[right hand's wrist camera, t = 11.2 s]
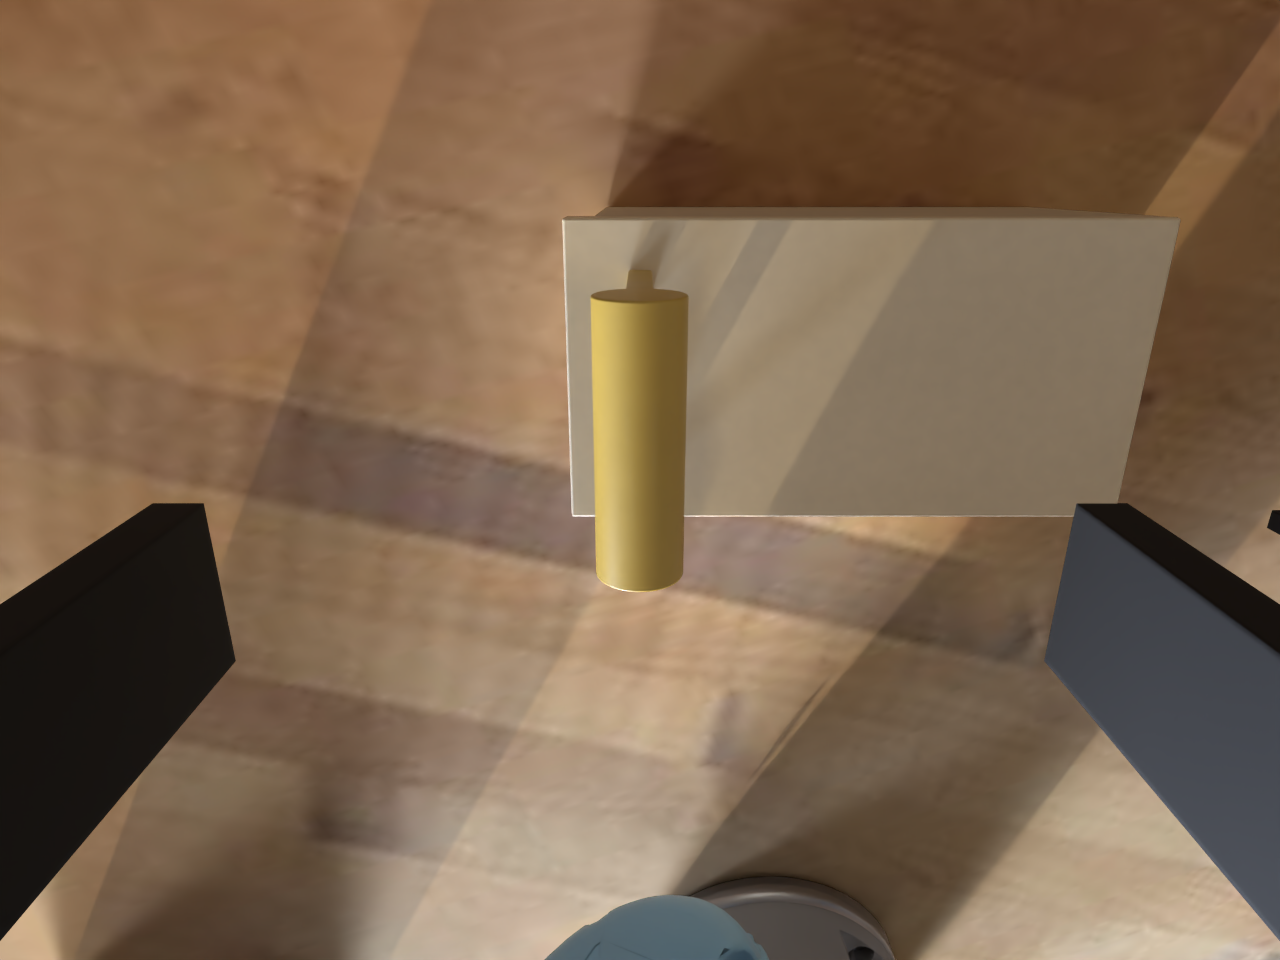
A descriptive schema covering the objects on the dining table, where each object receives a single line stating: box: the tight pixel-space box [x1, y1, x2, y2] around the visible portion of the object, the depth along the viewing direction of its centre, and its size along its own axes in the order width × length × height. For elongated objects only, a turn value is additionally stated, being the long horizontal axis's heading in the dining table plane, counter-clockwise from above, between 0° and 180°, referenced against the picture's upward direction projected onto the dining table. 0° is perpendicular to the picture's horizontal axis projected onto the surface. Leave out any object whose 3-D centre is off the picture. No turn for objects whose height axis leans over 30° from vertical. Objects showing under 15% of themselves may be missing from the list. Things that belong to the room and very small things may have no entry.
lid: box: [562, 216, 1180, 592], centre depth 22 cm, size 18×9×9 cm, turn 90°
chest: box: [596, 207, 1151, 216], centre depth 30 cm, size 17×10×9 cm, turn 90°
